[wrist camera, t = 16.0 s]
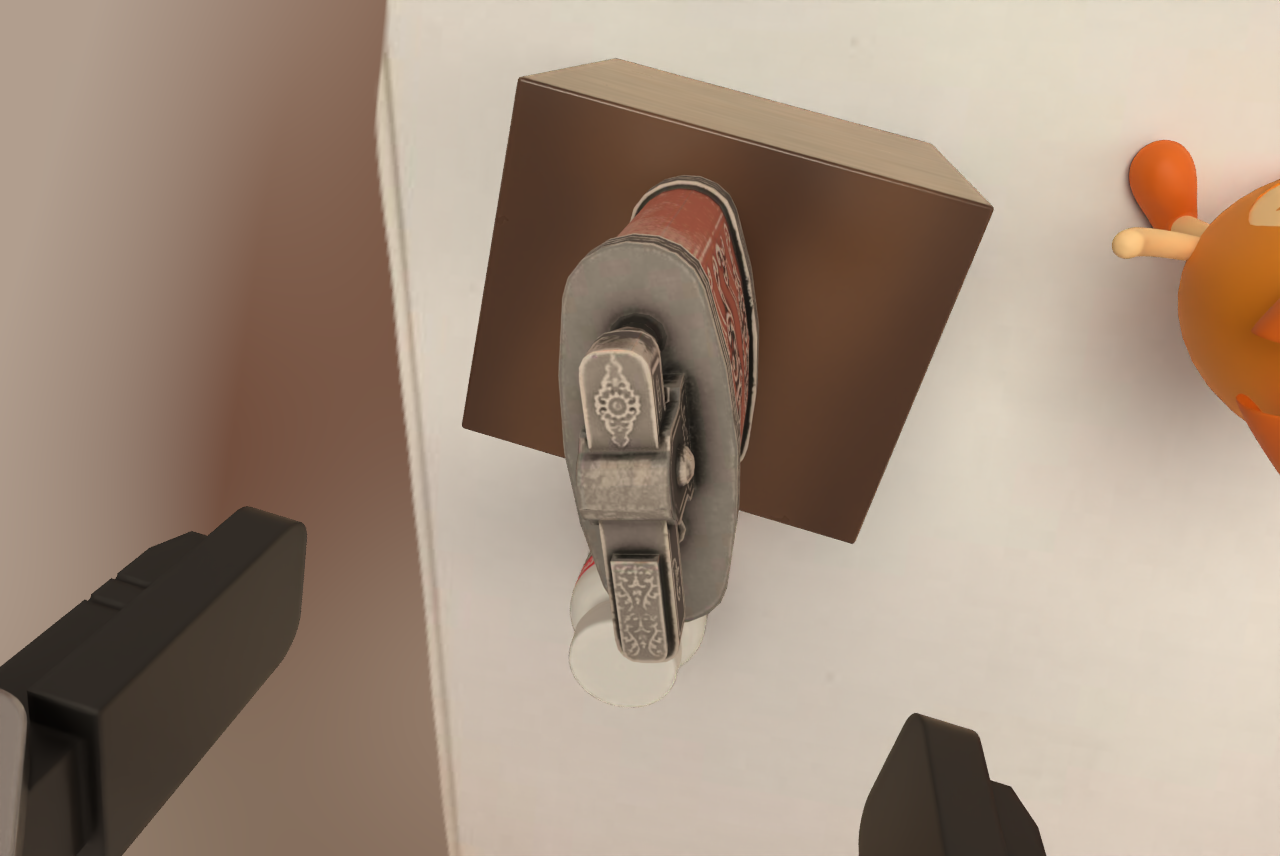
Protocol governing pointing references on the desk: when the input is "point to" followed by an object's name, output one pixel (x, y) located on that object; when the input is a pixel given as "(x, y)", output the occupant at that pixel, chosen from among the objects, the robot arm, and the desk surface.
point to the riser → (779, 255)
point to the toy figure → (1218, 282)
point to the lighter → (661, 407)
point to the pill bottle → (603, 662)
